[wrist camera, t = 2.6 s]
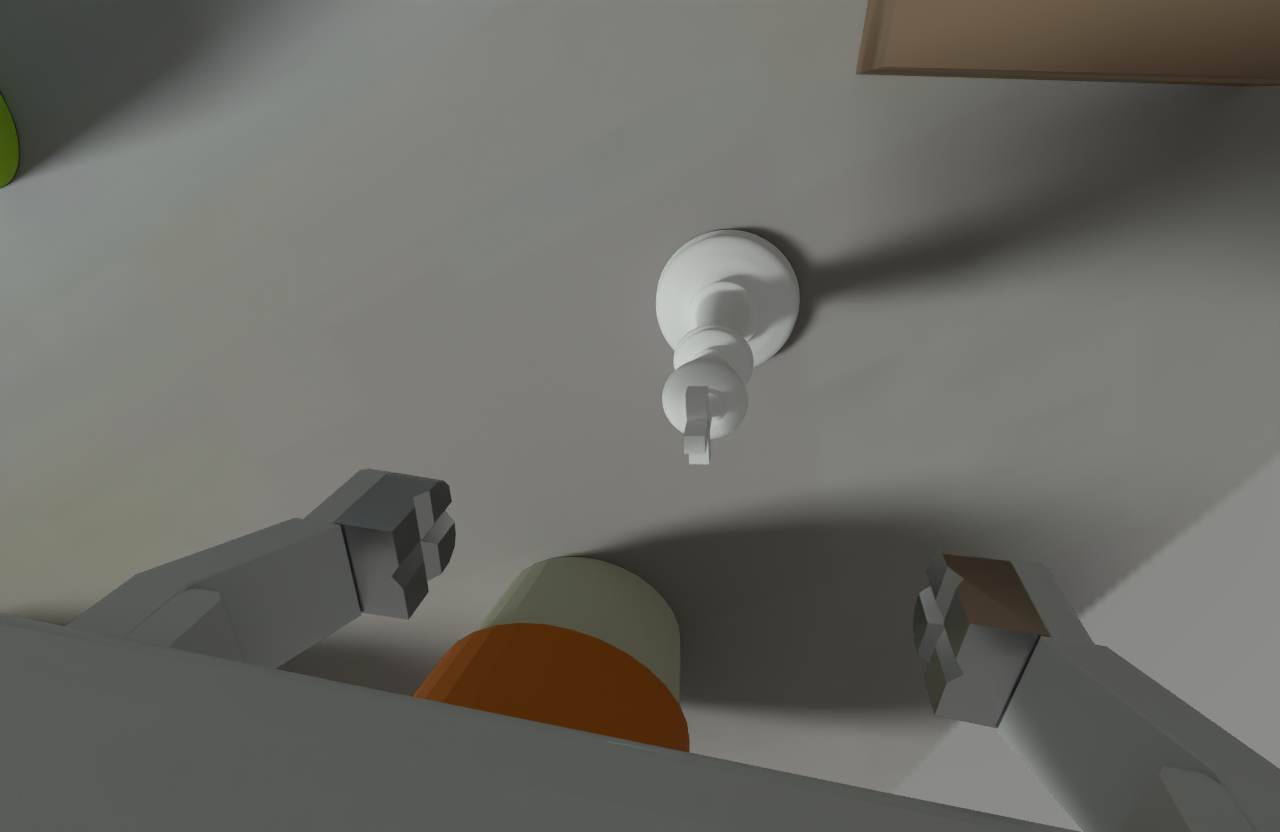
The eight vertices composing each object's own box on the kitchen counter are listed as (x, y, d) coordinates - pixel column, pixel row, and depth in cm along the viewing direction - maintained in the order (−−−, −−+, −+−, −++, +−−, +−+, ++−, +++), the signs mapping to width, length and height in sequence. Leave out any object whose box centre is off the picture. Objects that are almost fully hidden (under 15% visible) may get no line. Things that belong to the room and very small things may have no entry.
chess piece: (802, 225, 20) (825, 327, 11) (797, 366, 22) (814, 547, 13) (651, 233, 21) (562, 333, 12) (661, 367, 23) (593, 535, 14)
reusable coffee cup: (773, 624, 28) (774, 1098, 14) (631, 746, 34) (541, 1157, 21) (538, 476, 26) (306, 852, 13) (434, 630, 32) (205, 992, 19)
